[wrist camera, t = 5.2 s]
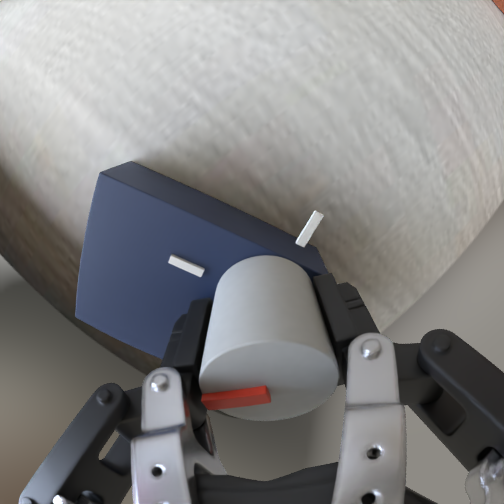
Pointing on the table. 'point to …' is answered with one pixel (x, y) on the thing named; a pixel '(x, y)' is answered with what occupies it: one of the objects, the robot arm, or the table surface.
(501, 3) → the button base
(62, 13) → the table surface
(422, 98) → the table surface
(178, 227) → the dial panel
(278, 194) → the table surface
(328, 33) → the table surface
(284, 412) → the dial
